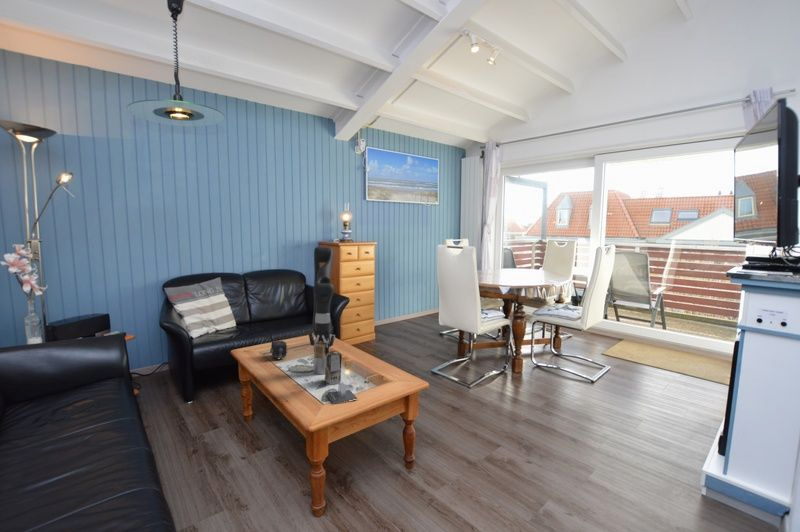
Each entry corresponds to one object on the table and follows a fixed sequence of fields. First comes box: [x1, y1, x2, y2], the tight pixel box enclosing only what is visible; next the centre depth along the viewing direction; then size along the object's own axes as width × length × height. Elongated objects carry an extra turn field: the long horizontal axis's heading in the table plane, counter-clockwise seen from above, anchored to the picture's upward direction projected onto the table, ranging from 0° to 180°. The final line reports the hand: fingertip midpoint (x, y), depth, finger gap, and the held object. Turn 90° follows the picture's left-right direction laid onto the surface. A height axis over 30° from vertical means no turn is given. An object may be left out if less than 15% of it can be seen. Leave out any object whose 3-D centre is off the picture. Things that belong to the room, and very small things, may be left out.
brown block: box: [313, 341, 328, 359], centre depth 189 cm, size 7×5×8 cm
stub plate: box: [326, 382, 358, 405], centre depth 181 cm, size 12×12×7 cm
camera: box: [269, 340, 288, 359], centre depth 244 cm, size 11×11×15 cm
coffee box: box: [324, 350, 343, 386], centre depth 203 cm, size 9×6×16 cm
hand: (321, 353), depth 189 cm, fingers closed on brown block, 5 cm apart
